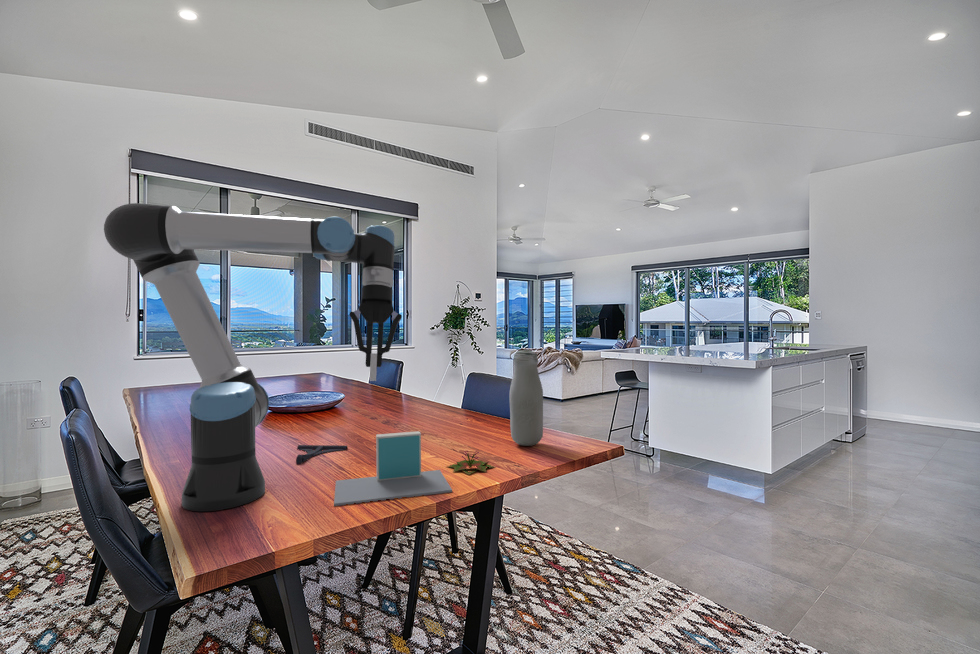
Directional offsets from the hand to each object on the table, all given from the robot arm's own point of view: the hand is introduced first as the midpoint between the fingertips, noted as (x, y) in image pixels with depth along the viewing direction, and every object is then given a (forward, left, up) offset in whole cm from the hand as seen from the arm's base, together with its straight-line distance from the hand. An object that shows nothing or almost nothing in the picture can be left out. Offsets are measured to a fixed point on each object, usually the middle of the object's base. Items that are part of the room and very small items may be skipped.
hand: (372, 380), depth 112 cm
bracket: (-16, +20, -23) cm, 34 cm away
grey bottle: (+44, +11, -23) cm, 51 cm away
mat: (+3, -12, -22) cm, 26 cm away
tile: (+5, -7, -22) cm, 24 cm away
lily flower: (+23, -4, -23) cm, 33 cm away
